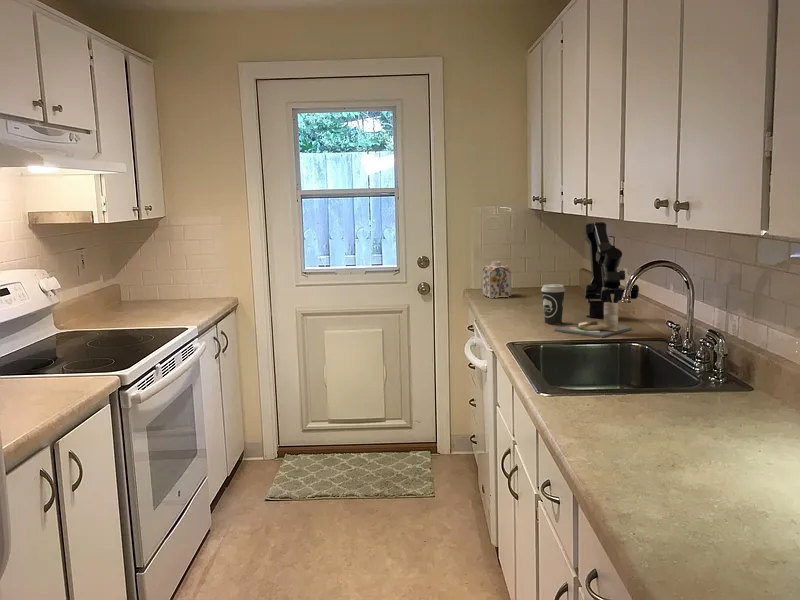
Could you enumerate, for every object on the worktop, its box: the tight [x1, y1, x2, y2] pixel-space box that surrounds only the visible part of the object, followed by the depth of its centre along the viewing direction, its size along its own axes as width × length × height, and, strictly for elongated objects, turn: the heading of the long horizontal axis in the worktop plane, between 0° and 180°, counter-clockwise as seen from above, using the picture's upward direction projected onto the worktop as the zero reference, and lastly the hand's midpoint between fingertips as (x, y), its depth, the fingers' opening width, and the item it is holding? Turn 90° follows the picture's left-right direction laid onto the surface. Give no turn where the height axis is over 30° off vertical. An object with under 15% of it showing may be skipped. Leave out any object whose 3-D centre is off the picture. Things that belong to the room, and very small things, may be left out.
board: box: [554, 322, 632, 338], centre depth 257 cm, size 20×20×1 cm
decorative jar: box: [482, 260, 512, 297], centre depth 351 cm, size 12×12×18 cm
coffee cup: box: [540, 283, 567, 325], centre depth 274 cm, size 10×10×15 cm
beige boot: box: [578, 302, 620, 331], centre depth 252 cm, size 15×13×10 cm
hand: (613, 310), depth 250 cm, fingers closed
